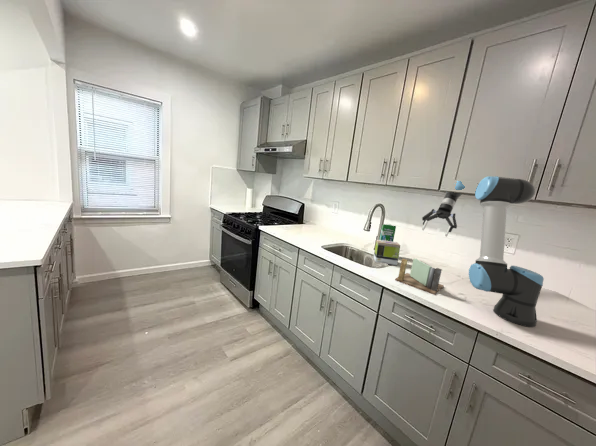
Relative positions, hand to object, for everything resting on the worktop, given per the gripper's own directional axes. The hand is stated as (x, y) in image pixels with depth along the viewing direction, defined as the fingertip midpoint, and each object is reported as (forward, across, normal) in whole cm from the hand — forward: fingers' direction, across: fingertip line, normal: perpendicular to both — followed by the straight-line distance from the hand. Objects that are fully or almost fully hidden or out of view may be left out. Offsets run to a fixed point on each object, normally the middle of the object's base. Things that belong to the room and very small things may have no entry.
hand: (434, 232), depth 156 cm
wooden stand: (+36, -5, 0) cm, 36 cm away
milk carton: (+14, +33, -31) cm, 47 cm away
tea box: (+24, +25, -18) cm, 39 cm away
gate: (+35, -5, +1) cm, 35 cm away
